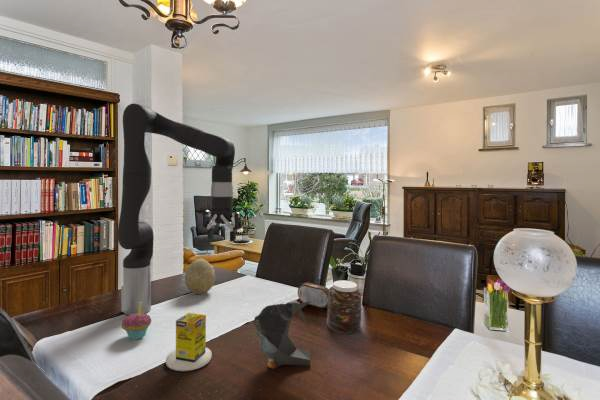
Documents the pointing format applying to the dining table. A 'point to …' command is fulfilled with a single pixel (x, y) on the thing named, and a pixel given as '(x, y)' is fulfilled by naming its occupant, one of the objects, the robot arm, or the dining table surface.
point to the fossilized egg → (199, 276)
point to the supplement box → (190, 337)
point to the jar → (344, 307)
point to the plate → (186, 365)
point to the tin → (313, 294)
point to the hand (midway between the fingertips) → (221, 240)
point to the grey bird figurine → (280, 334)
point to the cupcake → (136, 324)
